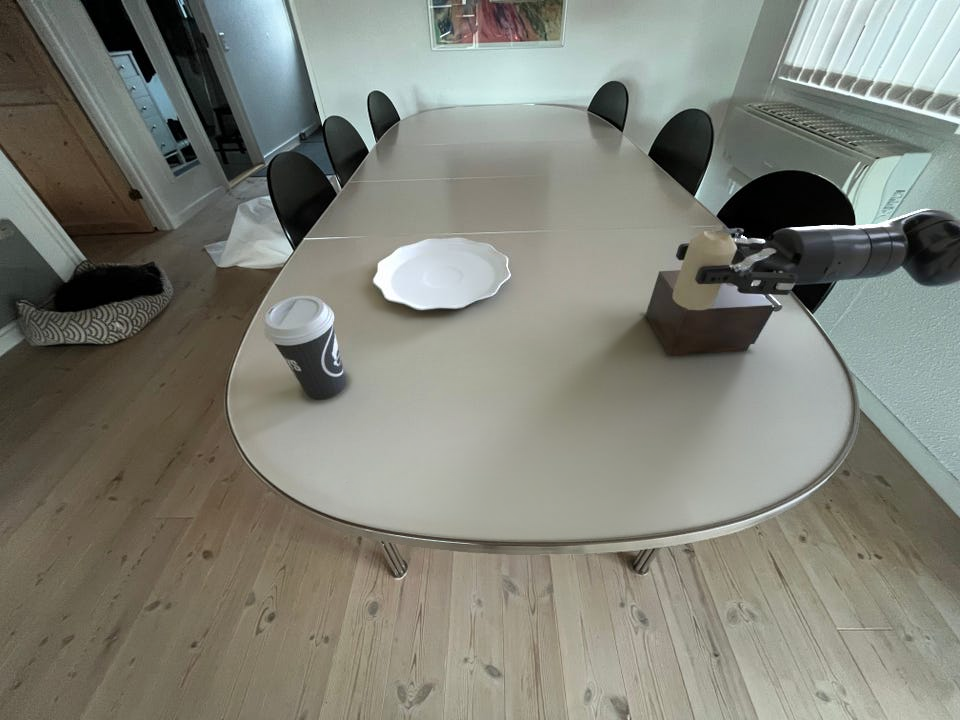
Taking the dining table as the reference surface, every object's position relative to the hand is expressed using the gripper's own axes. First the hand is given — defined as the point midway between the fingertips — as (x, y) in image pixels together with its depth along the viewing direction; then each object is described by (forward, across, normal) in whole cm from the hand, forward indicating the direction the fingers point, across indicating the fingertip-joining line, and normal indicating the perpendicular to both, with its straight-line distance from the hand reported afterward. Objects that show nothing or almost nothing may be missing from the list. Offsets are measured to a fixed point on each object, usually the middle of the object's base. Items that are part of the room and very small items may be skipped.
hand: (688, 263), depth 54 cm
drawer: (-15, -9, +19) cm, 25 cm away
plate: (+35, -32, +19) cm, 51 cm away
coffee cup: (+54, -1, +19) cm, 57 cm away
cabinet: (-11, -9, +20) cm, 24 cm away
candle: (-3, 0, +6) cm, 7 cm away
